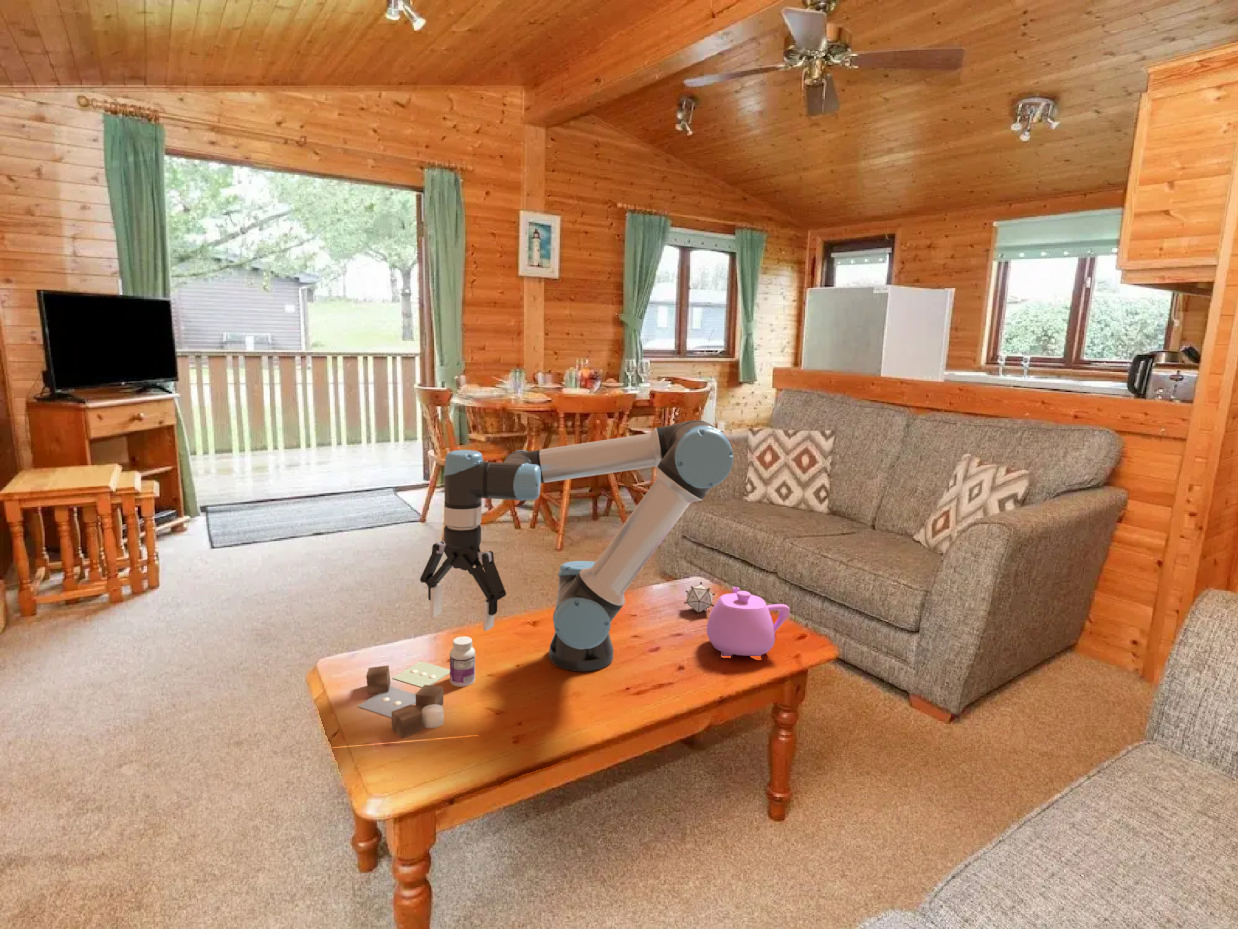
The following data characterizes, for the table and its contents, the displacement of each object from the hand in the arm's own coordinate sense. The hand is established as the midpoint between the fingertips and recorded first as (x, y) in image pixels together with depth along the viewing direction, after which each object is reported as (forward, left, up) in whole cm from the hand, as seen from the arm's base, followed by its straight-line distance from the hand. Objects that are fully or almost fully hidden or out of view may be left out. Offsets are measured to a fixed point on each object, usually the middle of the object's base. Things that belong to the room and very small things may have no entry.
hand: (461, 621), depth 146 cm
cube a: (-1, +12, -14) cm, 18 cm away
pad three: (+9, +2, -14) cm, 16 cm away
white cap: (-5, +16, -14) cm, 22 cm away
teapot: (-50, -48, -14) cm, 71 cm away
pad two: (+7, +14, -14) cm, 21 cm away
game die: (-33, -64, -14) cm, 74 cm away
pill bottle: (0, 0, -14) cm, 14 cm away
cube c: (+13, +11, -14) cm, 22 cm away
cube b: (-1, +19, -12) cm, 23 cm away
